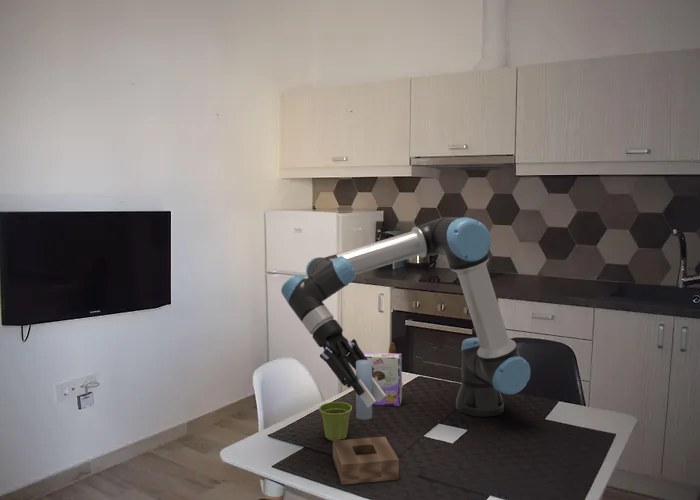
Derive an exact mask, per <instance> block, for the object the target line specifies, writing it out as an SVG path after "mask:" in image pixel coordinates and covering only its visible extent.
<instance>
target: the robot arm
mask: <svg viewBox="0 0 700 500" xmlns="http://www.w3.org/2000/svg"><path fill="white" fill-rule="evenodd" d="M491 242H492V238H491V234H490V231H489V230H488V228H487V227H486V225H485V224H484V223H482V222H481V221H480V220H477V219H475V218H474V219H473V218H471V217H454V216H445V217H440V218H436V219H434V220H431V221H427V222H425V223H422V224H420V225H416V226H414V227H412V229H411V231H409V232H405V233H402V234H398V235H395V236H391V237H388V238H385V239H382V240H378V241H375V242H372V243H368V244H365V245H361V246H359V247H355V248H351V249H348V250H345V251H342V252H339V253H335V254H332V255H328V256H326V257H321V256H320V257H314V258H312V259H311V260H310V261H309V262H308V263H307V265H306V267H305V268H306V271H305V273H306V275H307V278H306V277H305V276H304V275H303V274H296V275H294V276H291V277H290V278H288V279H287V280H286V281H285V282H284V283H283V285H282V286H281V290H280V291H281V294H282V296H283V298H284V299H285V301H286V302H287V304H288V305H289V307H290V308H291V310H292V311H293V312H294V314H295V315H296V316H297V318H298V319H299V320H300V322H301V323H302V324H303V326H304V327H305V329H306V330H307V332H308V333H309V335H312V339H313V340H314V342H315V343H316V344H317V346H318V347H319V348H322V349H323V351H322V352H321V353H320V354H319V357H320V358H321V359H322V360H323V361H324V362H325V363H326V364H327V366H328V367H329V368H330V370H331V371H332V372H333V374H334V375H335V376H336V378H337V379H338V380H339V381H340V383H341V385H342V386H346V388H348V389H349V388H351V387H352V389H353V390H354V392H355V394H356V393H357V394H358V395H359V396H360V397H361V399H362V400H363V402H364V403H365V404H366V406H367V407H370V406H371V405H372V404H373V403H374V402H375V401H376V400H377V401H378V402H379V401H381V400H382V399H383V398H384V397H385V396H386V394H385V393H384V392H383V390H382V389H381V388H380V386H379V385H378V383H377V381H376V380H375V379H374V377H373V376H372V394H371V393H370V392H369V390H368V389H367V387H366V386H365V385H364V383H363V382H362V380H361V379H359V380H358V381H357V377H356V372H354V370H355V371H356V361H358V360H368V359H367V358H366V357H365V355H364V354H363V352H364V351H362V350H361V347H360V346H359V345H358V342H357V340H356V339H354V338H353V339H352V340H348V339H347V338H346V337H345V336H344V334H343V330H344V329H343V328H342V326H341V325H340V323H339V322H338V321H337V320H336V319H334V315H333V314H332V313H331V311H330V310H329V308H327V306H326V304H325V303H324V302H325V301H326V300H327V299H328V298H331V296H333V295H334V294H336V293H337V292H339V291H340V290H342V289H343V288H345V287H347V286H349V284H350V283H352V282H353V281H354V280H355V279H356V277H357V275H359V274H362V273H367V272H369V271H373V270H375V269H378V268H381V267H385V266H388V265H389V266H390V265H391V264H392V265H393V264H395V263H398V262H402V261H405V260H408V259H410V258H414V257H417V256H418V257H420V258H425V257H429V256H436V255H437V256H438V255H439V256H445V258H446V261H447V264H448V266H449V267H448V268H449V270H450V271H452V272H454V273H456V274H457V277H458V281H459V284H460V287H461V290H462V292H463V293H462V294H463V296H464V299H465V302H466V305H467V308H468V312H469V316H470V318H471V321H472V324H473V328H474V331H475V334H476V337H470V338H466V339H463V340H462V343H461V384H460V387H459V390H458V392H457V397H456V399H455V409H456V410H457V411H458V412H460V413H462V414H465V415H469V416H472V417H479V418H480V417H481V418H482V417H483V418H484V417H485V418H487V417H488V418H490V417H495V416H499V415H501V414H503V413H504V408H505V407H504V406H505V404H504V400H503V396H502V394H504V395H515V394H517V393H520V392H521V391H522V390H523V389H524V388H525V387H526V386H527V384H528V382H529V381H530V378H531V366H530V364H529V362H528V361H527V360H526V359H525V358H524V357H523V356H520V353H519V349H518V346H517V344H516V341H514V340H513V339H511V338H509V336H508V332H507V329H506V325H505V322H504V320H503V316H502V313H501V309H500V305H499V303H498V299H497V296H496V292H495V289H494V286H493V283H492V280H491V276H490V273H489V270H488V267H487V263H488V262H489V261H490V254H489V251H490V247H491ZM373 370H374V368H373V366H372V373H373ZM501 393H502V394H501ZM372 395H373V396H374V397H375V398H374V397H373V396H372ZM375 399H376V400H375ZM372 406H373V405H372Z"/></svg>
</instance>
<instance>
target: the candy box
mask: <svg viewBox="0 0 700 500" xmlns="http://www.w3.org/2000/svg"><path fill="white" fill-rule="evenodd" d="M362 352H363V354H364V355H365V357H366V358H367V359H368V360H370V361H372V366H373V368H374V370H373V373H372V376H373V377H374V379H375V380H376V381H377V383H378V385H379V386H380V388H381V389H382V390H383V392H384V393H385V394H386V396H385V397H384V398H383V399H382V400H381V401H379V402H378V401H377V400H376V399H375V400H376V401H375V402H374V403H373V404H372V406H390V407H391V406H393V407H400V406H401V404H402V402H403V400H402V399H403V393H402V390H403V387H402V384H403V383H402V382H403V381H402V378H403V375H402V372H403V371H402V370H403V369H402V368H403V367H402V353H396V354H395V353H389V352H370V351H362ZM372 396H373V395H372ZM373 397H374V396H373ZM374 398H375V397H374Z"/></svg>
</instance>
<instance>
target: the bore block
mask: <svg viewBox="0 0 700 500" xmlns="http://www.w3.org/2000/svg"><path fill="white" fill-rule="evenodd" d="M332 460H334V461H333V462H334V463H333V464H334V466H335V468H336V472H337V474H338V475H337V476H338V477H339V480H340V485H343V486H344V485H353V484H361V483H362V484H364V483H375V482H383V481H385V482H386V481H394V480H399V477H400V475H399V472H400V471H399V467H400V466H399V462H400V461H399V458H398V456H397V453H396V452H395V451H394V449H393V447H392V446H391V444H390V443H389V441H388V439H387V438H386V436H377V437H375V436H374V437H362V438H360V437H359V438H351V439H350V438H349V439H340V440H336V441H332Z"/></svg>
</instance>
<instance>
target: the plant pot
mask: <svg viewBox="0 0 700 500" xmlns="http://www.w3.org/2000/svg"><path fill="white" fill-rule="evenodd" d="M318 410H319V412H320V416H321V418H322V422H323V423H322V424H323V429H324V435H325V436H324V437H325V438H327V440H329V441H332V442H333V441H336V440H346V438H347V436H348V428H349V422H350V421H349V420H350V416H351V412H352V410H353V406H352V405H351V404H349V403H347V402H341V401H330V402H326V403H323V404H321V405H320V406H319V407H318Z"/></svg>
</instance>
